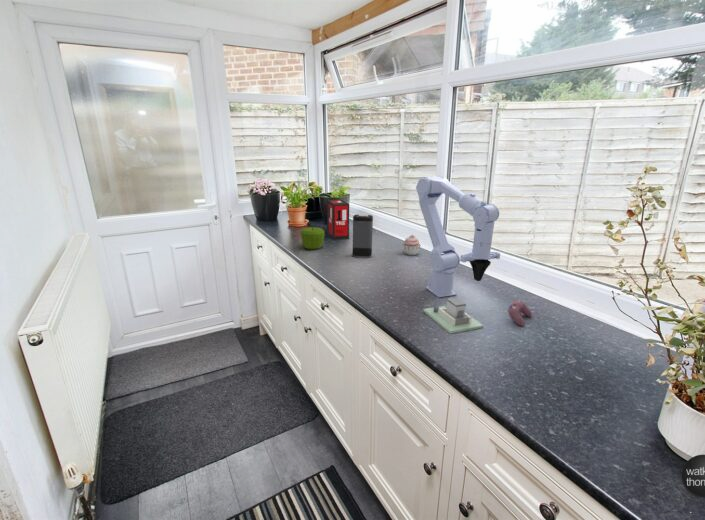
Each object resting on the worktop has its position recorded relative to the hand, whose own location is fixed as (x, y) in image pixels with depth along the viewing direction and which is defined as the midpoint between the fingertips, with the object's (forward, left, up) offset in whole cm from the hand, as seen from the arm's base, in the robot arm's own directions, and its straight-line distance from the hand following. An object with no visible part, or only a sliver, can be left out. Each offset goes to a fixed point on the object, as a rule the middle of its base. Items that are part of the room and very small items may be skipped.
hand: (477, 279), depth 127 cm
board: (+6, -13, -10) cm, 17 cm away
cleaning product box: (-107, -17, -10) cm, 109 cm away
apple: (-86, -37, -10) cm, 94 cm away
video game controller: (+13, +8, -10) cm, 18 cm away
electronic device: (-66, -17, -10) cm, 69 cm away
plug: (+7, -13, -9) cm, 17 cm away
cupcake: (-62, +8, -10) cm, 63 cm away
